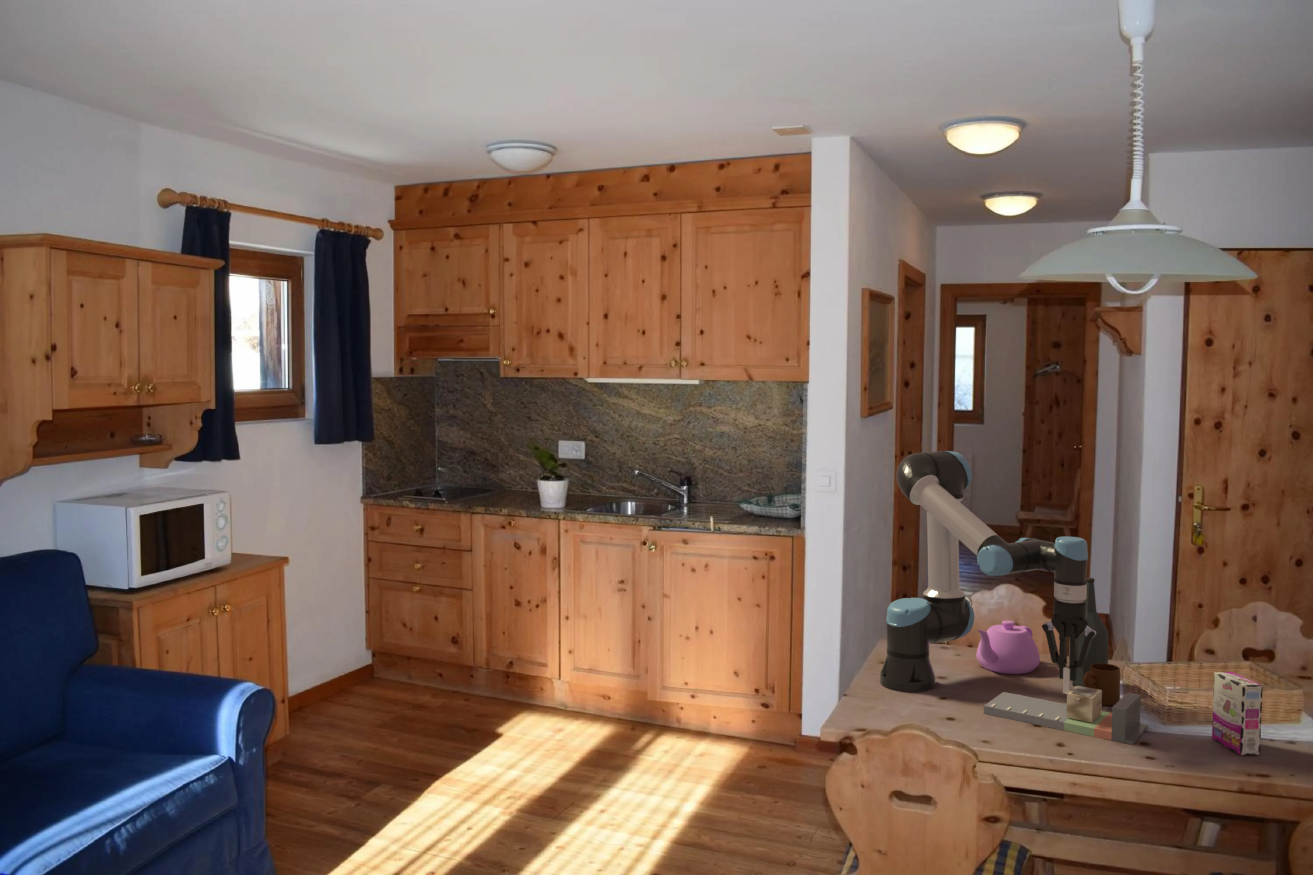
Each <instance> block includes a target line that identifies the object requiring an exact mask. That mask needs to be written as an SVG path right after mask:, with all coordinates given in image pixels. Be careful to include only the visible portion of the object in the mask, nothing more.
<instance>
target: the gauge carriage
mask: <svg viewBox="0 0 1313 875" xmlns="http://www.w3.org/2000/svg"><path fill="white" fill-rule="evenodd" d="M1066 704H1067V718H1071V719H1076V720H1081V721H1086V722H1091V723H1092V722H1093V721H1094V720H1095V719H1096V718H1097V717H1098V716H1099V715H1101V711H1102V709H1103V708H1102V706H1103V705H1102V690H1098V689H1093V688H1087V687H1082V686H1074V688H1073V687H1072V690H1071V691H1070V692H1069V693H1067V694H1066Z"/></svg>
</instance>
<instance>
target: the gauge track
mask: <svg viewBox="0 0 1313 875" xmlns="http://www.w3.org/2000/svg"><path fill="white" fill-rule="evenodd" d="M983 714H984V715H989V716H994V717H998V718H1003V719H1009V720H1013V721H1018V722H1022V723H1028V724H1032V725H1037V726H1040V727H1041V726H1042V727H1047V728H1051V729H1056V730H1061V731H1064V732H1070V733H1074V734H1075V733H1076V734H1079V735H1085V736H1089V737H1094V738H1099V739H1103V740H1109V741H1112V740H1111V736H1112V712H1109V711H1103V710H1101V715H1099V716H1098V717H1097V718H1096V719H1095V720H1094V721H1093V722H1092V723H1091V722H1086V721H1081V720H1076V719H1071V718H1067V703H1062V702H1057V701H1051V700H1047V699H1042V698H1036V697H1031V696H1026V695H1023V694H1022V695H1021V694H1015V693H1010V692H1006V691H1003V692H1001V693H1000V694H999V695H997V696H996V697H994V698H992V699H991V700H990V701H989V702H987V703H985V704H984V705H983Z"/></svg>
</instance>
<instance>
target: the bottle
mask: <svg viewBox="0 0 1313 875" xmlns="http://www.w3.org/2000/svg"><path fill="white" fill-rule="evenodd" d="M1086 580H1087V594H1086V600H1084V601H1085V602H1086V621H1087V623H1088V626H1089V627H1090V628H1091V629H1092V630H1096V631H1097V634H1096V635H1095V636H1094V638H1093V639H1092V642H1091V646H1090V649H1089V652H1088V656H1087V659H1086V662H1085V665H1084V666H1082V667H1081V668H1080V667H1078V668H1077V678H1076V680H1075V681H1072V687H1073V686H1074V687H1076V686H1082V687H1084V684H1083V677H1084V675H1085V673H1087V672H1089V669H1090V665H1091V664H1095V663H1105V664H1109V640H1110V639H1109V630H1108V629H1107V627H1106V625H1105V623H1104V621H1103V619H1101V617H1100V616H1099V614H1098V612H1097V601H1096V591H1095V590H1096V589H1095V580H1096V579H1095V578H1094V577H1086ZM1068 638H1069V640H1068V644H1069V645H1068V665H1069V666H1070V637H1068ZM1085 638H1086V636H1085V630H1084V631H1083V632H1082V633H1081V634H1080V635H1079V639H1078V660H1079V657H1080V653H1081V650H1082V647H1083V643H1084V640H1085Z"/></svg>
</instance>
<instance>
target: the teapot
mask: <svg viewBox="0 0 1313 875" xmlns="http://www.w3.org/2000/svg"><path fill="white" fill-rule="evenodd" d="M976 631H978V632H979V634H980V641H979V643H978V646H977V649H976V653H975V654H976V655H975V656H976V660H977V662H978V663H979V664H980V665H981V667H983V668H984V669H985V670H988V671H990V672H994V673H1000V674H1004V675H1005V674H1006V675H1008V674H1009V675H1024V674H1029V673H1032V672H1033V671H1034V670H1035V669H1036V668H1037V667H1038V666H1039V665H1040V662H1041V660H1040V659H1041V656H1040V652H1039V651H1040V650H1039V648H1038V646H1037V644H1036V642H1035V639H1033V631H1032V629H1031V628H1030V627H1029V626H1026V625H1021V626H1019V625H1016V623H1015V621H1013V620H1009V619H1008V620H1002V621H1001V624H994V625H991V626H989V628H988V629H987V630H986V631H985V630H982V629H976Z"/></svg>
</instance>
